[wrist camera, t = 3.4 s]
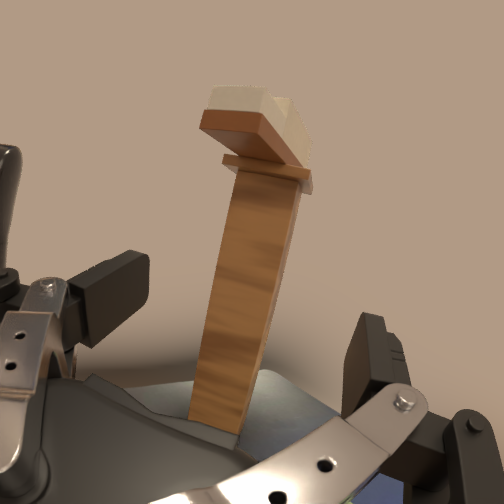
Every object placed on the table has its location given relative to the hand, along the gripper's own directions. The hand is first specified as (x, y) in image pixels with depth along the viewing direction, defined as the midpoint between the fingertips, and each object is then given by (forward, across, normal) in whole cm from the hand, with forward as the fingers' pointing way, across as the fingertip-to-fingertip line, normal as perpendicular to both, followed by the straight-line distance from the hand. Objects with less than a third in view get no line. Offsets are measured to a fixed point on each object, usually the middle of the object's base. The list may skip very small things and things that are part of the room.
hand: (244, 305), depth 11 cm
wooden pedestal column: (+15, +4, +28) cm, 32 cm away
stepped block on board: (+20, +4, -4) cm, 21 cm away
